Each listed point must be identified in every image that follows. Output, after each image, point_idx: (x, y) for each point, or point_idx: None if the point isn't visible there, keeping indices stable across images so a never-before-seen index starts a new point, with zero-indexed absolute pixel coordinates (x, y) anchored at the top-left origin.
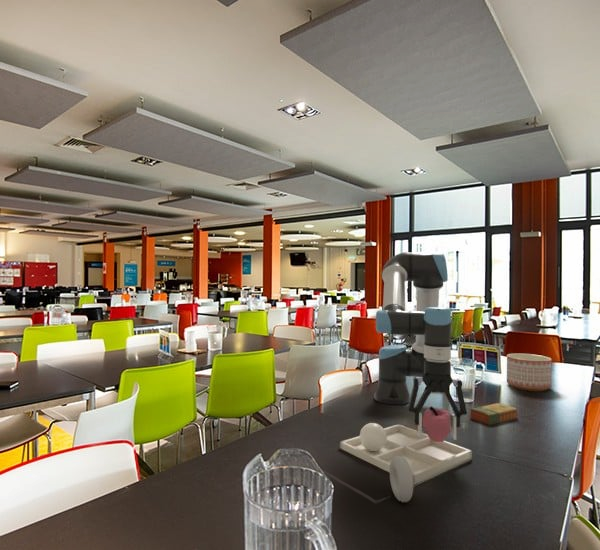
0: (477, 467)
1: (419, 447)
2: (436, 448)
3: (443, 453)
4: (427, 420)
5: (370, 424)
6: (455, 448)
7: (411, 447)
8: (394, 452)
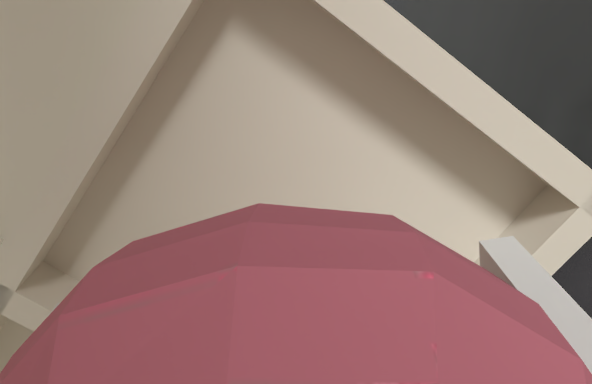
0: (579, 303)
1: (127, 123)
2: (290, 77)
3: (351, 177)
4: None
5: None
6: (477, 128)
7: (57, 229)
8: None
